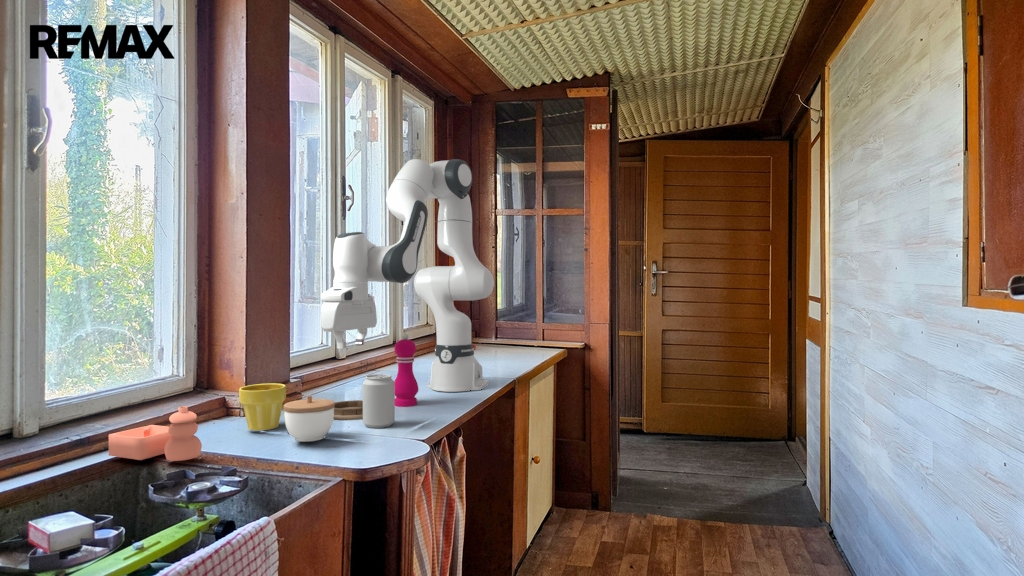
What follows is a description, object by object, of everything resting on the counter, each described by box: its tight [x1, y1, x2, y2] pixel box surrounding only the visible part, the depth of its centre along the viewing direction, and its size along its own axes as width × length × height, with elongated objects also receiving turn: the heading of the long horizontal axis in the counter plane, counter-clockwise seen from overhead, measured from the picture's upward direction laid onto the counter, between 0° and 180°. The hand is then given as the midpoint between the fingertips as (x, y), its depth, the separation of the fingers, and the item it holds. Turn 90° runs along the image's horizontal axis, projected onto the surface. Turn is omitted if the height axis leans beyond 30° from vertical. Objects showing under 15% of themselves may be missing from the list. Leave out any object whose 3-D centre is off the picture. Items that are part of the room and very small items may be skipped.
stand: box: [333, 399, 363, 421], centre depth 165 cm, size 14×14×2 cm
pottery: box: [108, 405, 203, 462], centre depth 127 cm, size 18×10×10 cm, turn 68°
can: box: [362, 373, 396, 429], centre depth 151 cm, size 8×8×12 cm
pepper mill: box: [393, 333, 419, 408], centre depth 177 cm, size 7×7×20 cm
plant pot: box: [238, 382, 287, 432], centre depth 149 cm, size 10×10×10 cm
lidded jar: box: [282, 395, 335, 443], centre depth 139 cm, size 11×11×9 cm
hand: (350, 347), depth 164 cm, fingers open, 7 cm apart
